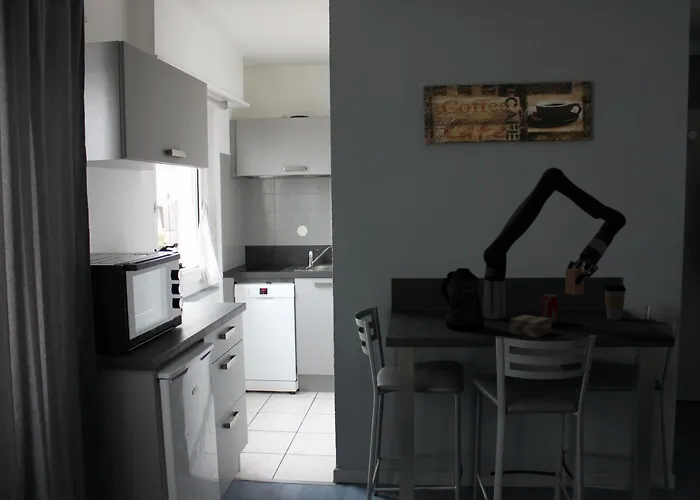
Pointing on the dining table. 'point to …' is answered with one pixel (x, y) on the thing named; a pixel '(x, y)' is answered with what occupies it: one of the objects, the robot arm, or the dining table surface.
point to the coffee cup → (614, 300)
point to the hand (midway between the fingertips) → (571, 282)
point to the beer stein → (462, 301)
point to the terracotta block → (573, 282)
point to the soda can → (549, 307)
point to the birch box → (530, 325)
